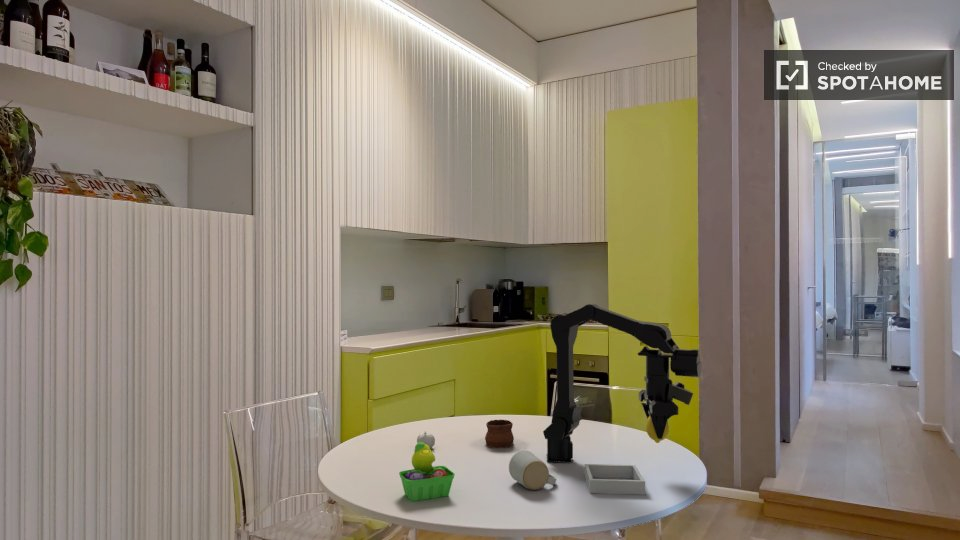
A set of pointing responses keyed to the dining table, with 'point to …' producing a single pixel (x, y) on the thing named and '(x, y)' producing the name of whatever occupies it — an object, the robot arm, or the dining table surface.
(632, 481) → the corral
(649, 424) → the lemon
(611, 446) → the dining table surface
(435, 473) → the fruit basket
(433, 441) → the garlic
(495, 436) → the ceramic pot
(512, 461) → the ceramic mug
